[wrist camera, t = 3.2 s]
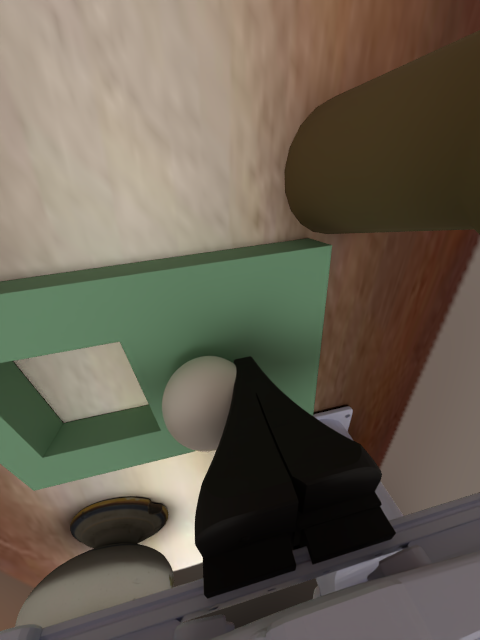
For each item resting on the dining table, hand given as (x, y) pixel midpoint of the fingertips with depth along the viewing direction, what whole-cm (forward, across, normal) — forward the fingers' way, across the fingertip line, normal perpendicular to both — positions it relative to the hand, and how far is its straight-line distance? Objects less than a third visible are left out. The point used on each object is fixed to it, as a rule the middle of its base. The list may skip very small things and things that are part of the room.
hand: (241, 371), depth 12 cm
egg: (-1, +2, 0) cm, 2 cm away
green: (+3, +5, +1) cm, 6 cm away
